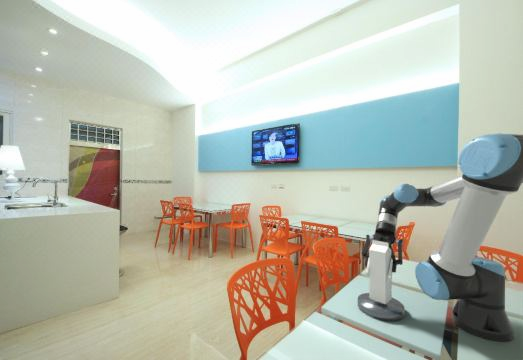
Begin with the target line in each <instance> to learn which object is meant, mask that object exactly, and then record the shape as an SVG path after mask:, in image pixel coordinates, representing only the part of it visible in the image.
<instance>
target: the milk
mask: <svg viewBox="0 0 523 360" xmlns="http://www.w3.org/2000/svg"><path fill="white" fill-rule="evenodd" d="M371 243H372V244H370V245H371V246H369V249H368V252H369V276H368V277H369V278H368V279H369V281H368V282H369V284H368V286H369V287H368V288H369V289H368V290H369V291H368V293H369V298H370V299H372V300H375V301H378V302H380V303H383V304H386V303H388V302H389V301H390V300H391V299H392V298H393V297H392V294H393V293H392V292H393V291H392V289H393V288H392V287H393V286H392V285H393V283H392V281H389V278H388V276H389V268H390V261H392V257H391V249H390V248H389V244H388V243H387V242H381V241H376V240H374V239H372V241H371ZM392 262H393V261H392Z"/></svg>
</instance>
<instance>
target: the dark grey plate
mask: <svg viewBox="0 0 523 360" xmlns="http://www.w3.org/2000/svg"><path fill="white" fill-rule="evenodd" d="M358 307H359V308H358ZM357 308H358V309H359V310H360V311H361V312H362V313H363V314H364V313H365V315H366V316H369V317H370V318H371V319H375V320H378V319H379V321H382V320H383V321H384V322H399V321H402V320H403V319H404V318H405V315H406V314H405V306H404V304H403V302H401V301H399V300H398V299H396V298H394V297H392V299H391V300H390V301H389V302H388V303H386V304H383V303H380V302H378V301H375V300H372V299H370V298H369V292H365V293H361V294H359V295H358V297H357Z"/></svg>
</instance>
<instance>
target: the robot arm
mask: <svg viewBox="0 0 523 360" xmlns="http://www.w3.org/2000/svg"><path fill="white" fill-rule="evenodd" d="M457 161H458V165H460V166H459V167H458V168H459V170H460V172H461V173H462V174H459V175H457V176H454V177H452V178H449V179H447V180H445V181H442V182H439V183H436V184H434V185H433V186H429V187H427V188H416V187H415V186H414V185H412V184H409V183H402V184H400V185H399V186H398V187H397V188H396V189H394V190H393V192H392V193H391V194H390V195H389V194H387V195H386V196H385V195H384V196H383V197H382V198H381V200H380V202H379V209H378V214H377V215H378V216H377V219H376V220H377V221H376V226H375V231H374V234H373V235H370V234H366V235H365V238H366V240H365V242H364V246H363V248H362V249H361V251H362V252H361V256H362V258H363V259H365V261H364V266H365V268H366V270H365V274H366V277H369V249H370V247H371V246H370V245H371V242H372V241H373V240H376V241H381V242H387V243H388V244H389V248H390V249H391V257H392V261H390V268H389V276H388V278H389V281H392V279H393V273H394V274H396V272H397V266H399V265H400V266H401V265H402V266H403V263H404V262H403V246H404V240H403V239H402V238H397V237H396V234H397V227H398V226H397V224H398V216H399V213H400V212H402V211H403V210H404V209H406V208H408V207H435V208H436V207H443V206H445V205H446V203H447V202H450V201H453V200H458V199H459V201H458V202H457V204H456V207H455V209H454V213H453V214H452V217H451V219H450V221H449V224H448V226H447V228H446V231H445V233H444V236H443V238H442V240H441V243H440V246H439V247H438V249H434V250H432V251H431V252H430V254H429V256H428V257H427V258H428V259H427V260H426V261H423V260H422V261H421V262H417V264H416V266H415V269H414V273H415V275H414V276H415V279H416V281H417V284H418V286H419V287H420V289H421V291H422V292H423V293H424V294H425V295H426V296H427V297H428V298H431V299H433V300H435V301H449V300H452V301H453V300H456V301H455V303H454V306H453V308H452V310H451V320H452V322H453V323H454V324H455V325H456V326H458V327H459V328H460V329H462V330H464V331H466V332H467V333H470V334H472V335H475V336H477V337H480V338H483V339H487V340H491V341H495V342H508V341H512V340H513V339H514V330H513V329H514V328H513V327H512V324H511V321H510V319H509V316H508V314H507V311H506V276H507V275H506V271H505V267H504V265H502V264H501V263H500V262H498V261H496V260H492V259H489V258H485V257H482V256H481V257H480V256H478V255H477V254H478V252H479V251H480V248H481V247H482V244H483V243H484V241H485V238H486V236H487V234H488V232H489V231H490V229H491V226H492V225H493V223H494V221H495V220H496V219H495V218H496V217H497V214H499V213H498V212H499V211H500V209H501V207H502V205H503V203H504V201H505V199H506V196H508V195H512V194H515V193H517V192H519V189H520V188H521V185H522V184H523V134H513V133H501V132H499V133H493V134H492V133H491V134H490V133H488V134H483V135H478V137H475V138H473V139H471V140H470V141H469V142H467V143H466V144H465V145H464V146H463V148H462V149H461V151H460V153H459V156H458V159H457ZM395 243H396V245H397V256H398V257H397V259H396V255H395V252H394V249H393V247H392V245H393V244H395Z"/></svg>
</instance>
